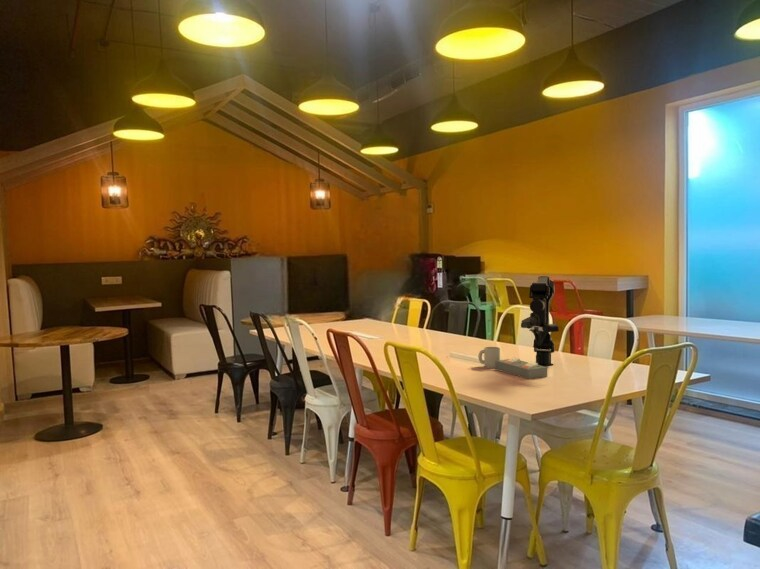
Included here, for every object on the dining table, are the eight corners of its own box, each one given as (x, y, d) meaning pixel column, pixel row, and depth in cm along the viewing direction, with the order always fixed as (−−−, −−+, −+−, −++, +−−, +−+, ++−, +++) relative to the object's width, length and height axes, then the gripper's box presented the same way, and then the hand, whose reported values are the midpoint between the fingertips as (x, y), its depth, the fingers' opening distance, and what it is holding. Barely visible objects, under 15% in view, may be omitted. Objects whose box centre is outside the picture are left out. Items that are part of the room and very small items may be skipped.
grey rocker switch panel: (513, 367, 264) (513, 358, 264) (547, 376, 243) (547, 367, 243) (495, 369, 260) (495, 360, 259) (528, 379, 239) (528, 369, 239)
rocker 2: (532, 364, 249) (531, 361, 248) (538, 365, 245) (537, 362, 245) (521, 369, 246) (520, 366, 246) (527, 371, 243) (526, 368, 242)
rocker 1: (514, 359, 260) (514, 357, 259) (520, 361, 256) (519, 358, 256) (504, 364, 257) (503, 361, 257) (510, 365, 254) (509, 363, 253)
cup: (499, 368, 261) (499, 349, 261) (478, 367, 264) (477, 348, 263) (500, 365, 268) (500, 346, 268) (478, 364, 271) (478, 346, 270)
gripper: (511, 309, 255) (511, 344, 256) (539, 313, 238) (539, 350, 239) (530, 308, 260) (530, 342, 261) (559, 312, 243) (559, 348, 244)
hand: (539, 345), depth 251 cm, fingers closed
